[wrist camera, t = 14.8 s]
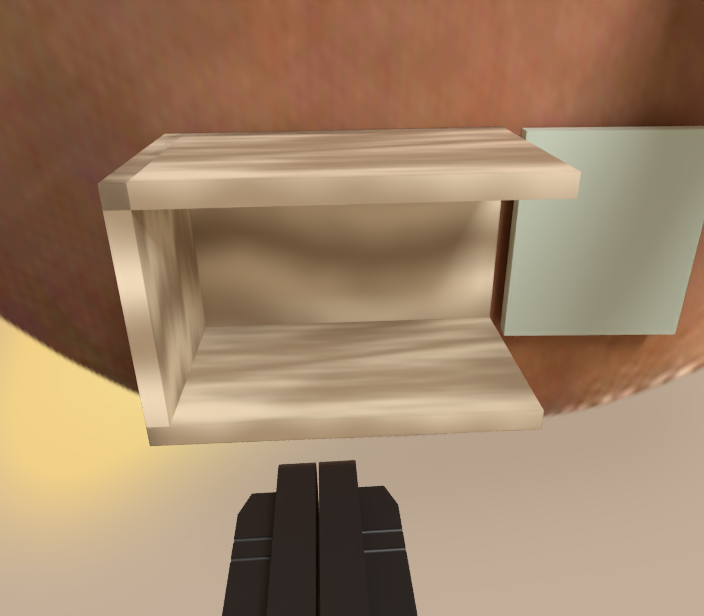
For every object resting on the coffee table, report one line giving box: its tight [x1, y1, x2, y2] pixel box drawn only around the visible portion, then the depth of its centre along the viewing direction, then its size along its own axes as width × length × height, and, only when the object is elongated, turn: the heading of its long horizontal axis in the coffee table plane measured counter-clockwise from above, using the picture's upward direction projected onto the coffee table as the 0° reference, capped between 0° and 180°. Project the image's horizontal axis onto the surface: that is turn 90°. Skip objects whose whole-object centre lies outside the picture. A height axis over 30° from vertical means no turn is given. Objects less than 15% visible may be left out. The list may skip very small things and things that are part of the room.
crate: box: [98, 127, 581, 446], centre depth 34 cm, size 14×21×12 cm, turn 91°
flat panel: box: [500, 126, 704, 336], centre depth 39 cm, size 14×1×12 cm
